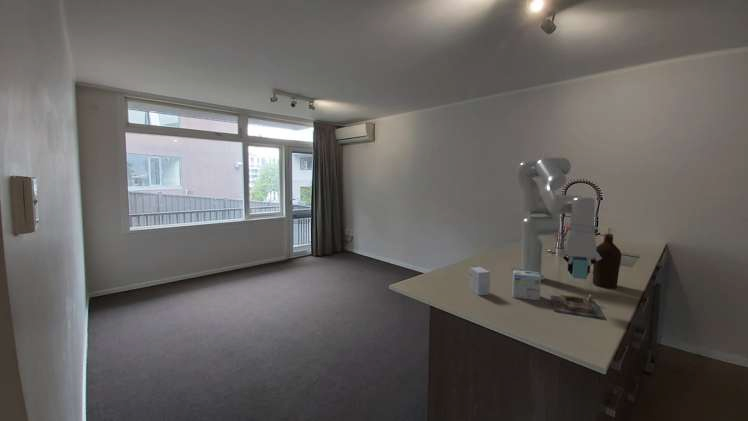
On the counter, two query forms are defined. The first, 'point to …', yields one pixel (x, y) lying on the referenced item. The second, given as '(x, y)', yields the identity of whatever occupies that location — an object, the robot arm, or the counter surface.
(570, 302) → the board
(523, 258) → the robot arm
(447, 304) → the counter surface
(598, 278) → the olive oil
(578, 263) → the teal block
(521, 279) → the light bulb box
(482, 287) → the small box
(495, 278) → the counter surface
